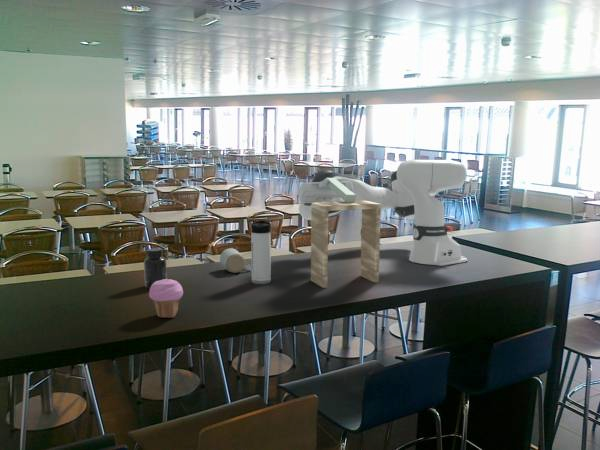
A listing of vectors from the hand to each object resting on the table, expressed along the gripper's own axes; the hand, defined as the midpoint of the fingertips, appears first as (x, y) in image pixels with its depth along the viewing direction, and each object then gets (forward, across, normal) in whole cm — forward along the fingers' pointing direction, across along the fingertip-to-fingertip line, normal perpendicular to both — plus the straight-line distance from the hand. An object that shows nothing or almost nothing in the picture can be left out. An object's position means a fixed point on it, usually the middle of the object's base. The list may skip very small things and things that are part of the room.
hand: (333, 180), depth 198 cm
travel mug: (-6, +31, -33) cm, 46 cm away
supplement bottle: (-11, +64, -30) cm, 72 cm away
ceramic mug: (-22, +34, -24) cm, 48 cm away
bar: (+5, +1, -7) cm, 9 cm away
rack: (+2, +5, -38) cm, 38 cm away
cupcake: (+15, +65, -46) cm, 81 cm away
